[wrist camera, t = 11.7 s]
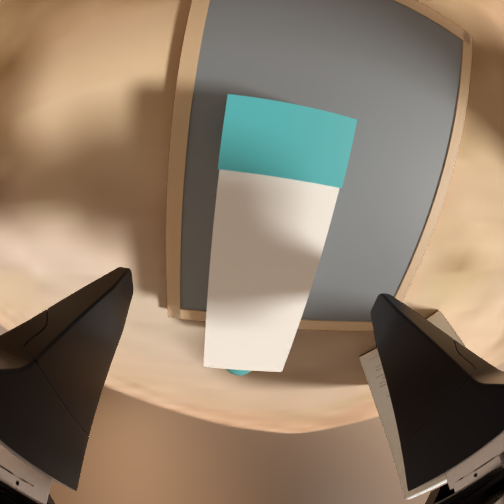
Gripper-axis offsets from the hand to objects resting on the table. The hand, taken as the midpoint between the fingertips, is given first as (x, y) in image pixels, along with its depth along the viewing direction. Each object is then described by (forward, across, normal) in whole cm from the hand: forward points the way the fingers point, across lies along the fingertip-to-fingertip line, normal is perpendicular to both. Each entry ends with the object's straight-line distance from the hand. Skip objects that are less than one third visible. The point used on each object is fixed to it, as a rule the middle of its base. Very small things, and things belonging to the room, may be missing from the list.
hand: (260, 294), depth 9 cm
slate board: (+6, -3, -4) cm, 8 cm away
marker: (+5, 0, 0) cm, 5 cm away
